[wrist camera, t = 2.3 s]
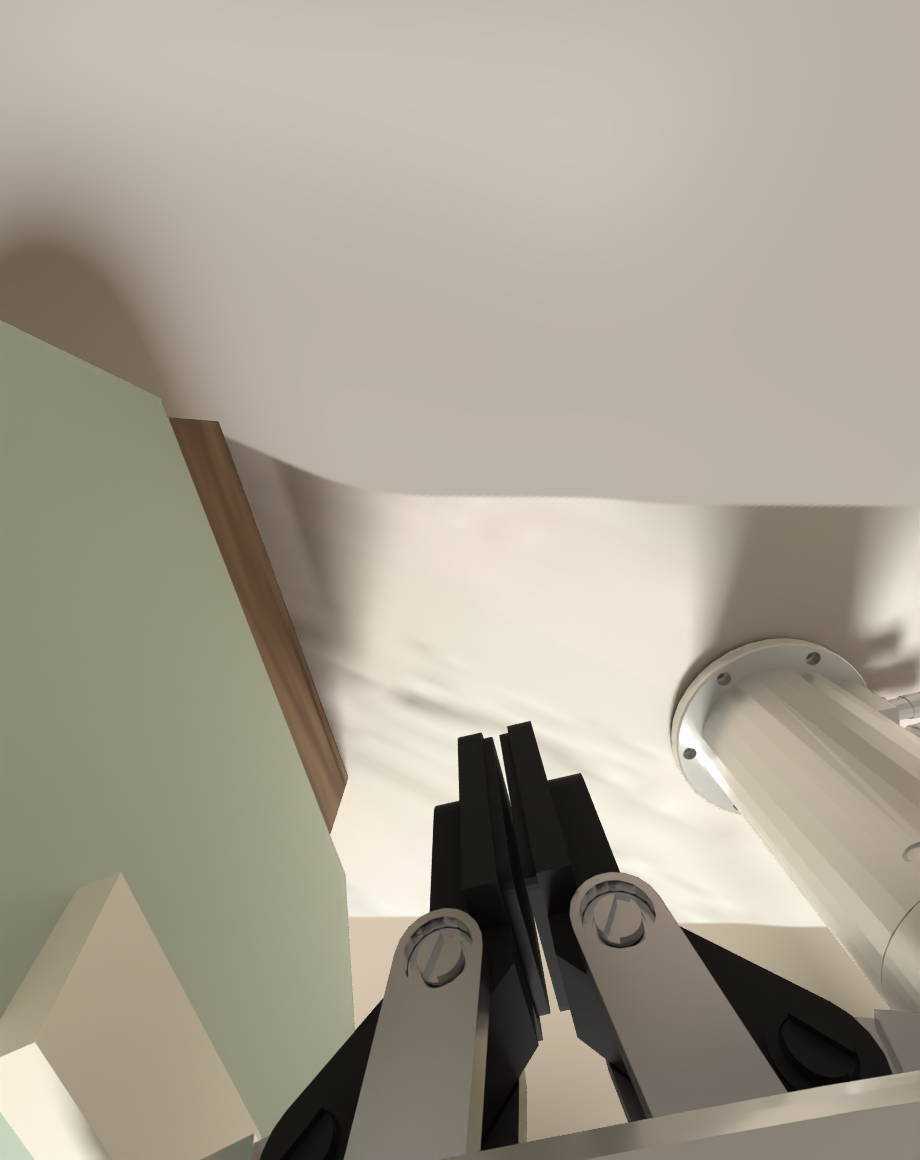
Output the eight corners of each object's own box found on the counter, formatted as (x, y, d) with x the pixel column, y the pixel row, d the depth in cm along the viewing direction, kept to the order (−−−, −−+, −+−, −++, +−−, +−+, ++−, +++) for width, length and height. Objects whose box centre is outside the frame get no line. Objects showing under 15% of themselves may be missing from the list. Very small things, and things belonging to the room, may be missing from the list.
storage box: (218, 421, 29) (130, 414, 21) (348, 778, 35) (317, 874, 27) (-73, 501, 30) (-259, 522, 22) (103, 833, 36) (6, 941, 28)
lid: (129, 404, 20) (175, 394, 21) (323, 884, 27) (356, 870, 27) (-1216, -93, 3) (-724, -109, 3) (326, 1706, 9) (424, 1634, 9)
